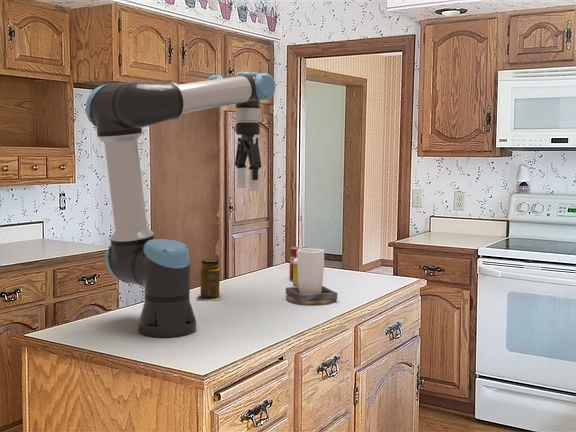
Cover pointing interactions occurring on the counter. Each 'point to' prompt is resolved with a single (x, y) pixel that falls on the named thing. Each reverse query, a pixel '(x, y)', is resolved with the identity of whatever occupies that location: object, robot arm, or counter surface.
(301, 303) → the dark brown tray
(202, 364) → the counter surface
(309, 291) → the cup
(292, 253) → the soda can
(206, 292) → the condiment
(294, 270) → the supplement bottle
